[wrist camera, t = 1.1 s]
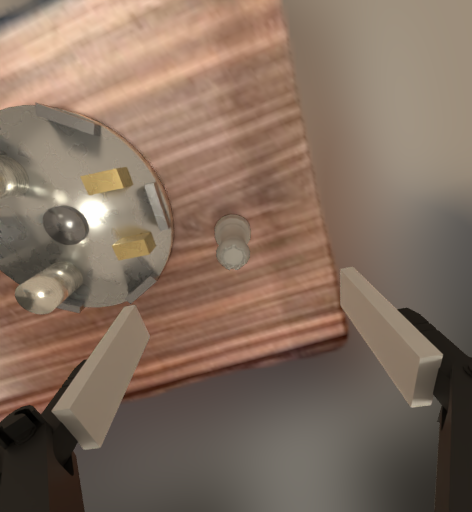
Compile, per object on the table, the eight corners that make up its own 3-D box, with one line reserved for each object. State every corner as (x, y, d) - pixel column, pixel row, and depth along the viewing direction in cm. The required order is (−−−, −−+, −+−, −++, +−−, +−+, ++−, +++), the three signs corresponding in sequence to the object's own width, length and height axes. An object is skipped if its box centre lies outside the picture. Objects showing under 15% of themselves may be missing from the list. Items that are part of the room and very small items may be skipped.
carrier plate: (39, 313, 33) (-3, 348, 27) (-83, 135, 24) (-188, 130, 18) (195, 284, 32) (187, 315, 26) (131, 83, 22) (96, 58, 16)
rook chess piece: (211, 216, 28) (204, 239, 20) (248, 210, 28) (254, 231, 20) (218, 250, 30) (214, 282, 22) (252, 244, 29) (260, 275, 22)
